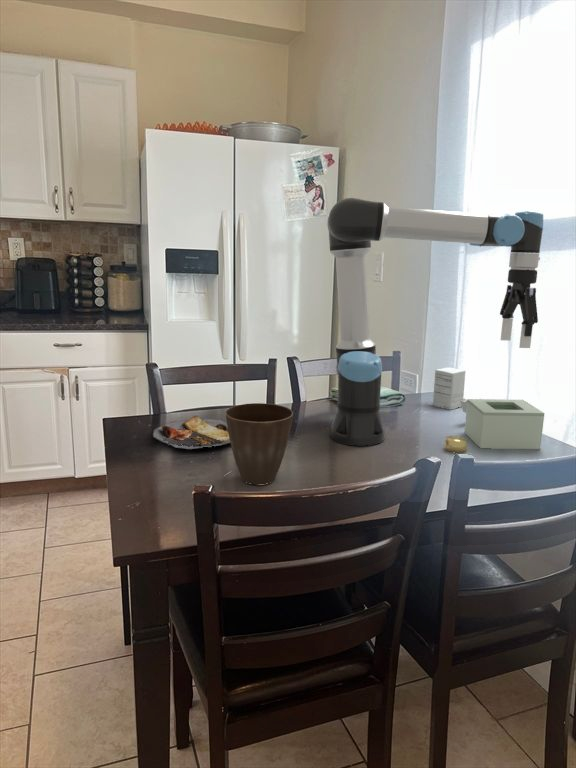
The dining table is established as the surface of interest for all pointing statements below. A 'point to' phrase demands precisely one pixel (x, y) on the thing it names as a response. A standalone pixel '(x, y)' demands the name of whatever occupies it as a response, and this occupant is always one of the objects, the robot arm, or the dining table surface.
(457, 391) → the supplement box
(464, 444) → the gold squat cylinder
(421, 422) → the dining table surface
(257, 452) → the plant pot
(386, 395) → the towel
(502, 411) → the box
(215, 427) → the food plate
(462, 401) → the lighter
